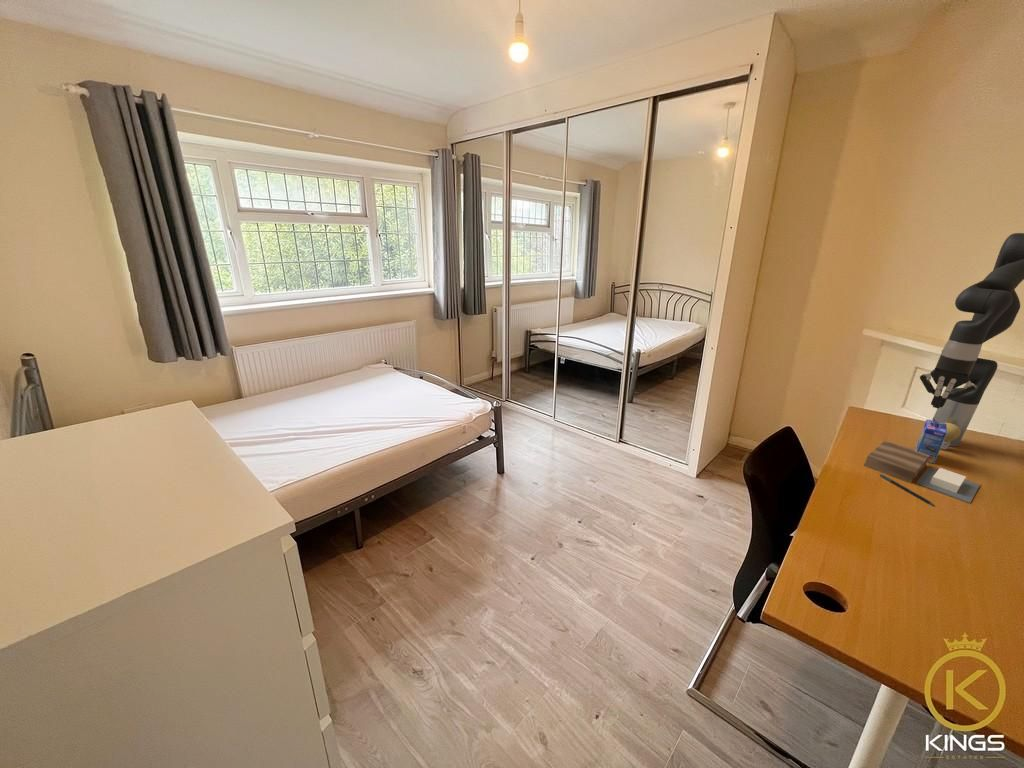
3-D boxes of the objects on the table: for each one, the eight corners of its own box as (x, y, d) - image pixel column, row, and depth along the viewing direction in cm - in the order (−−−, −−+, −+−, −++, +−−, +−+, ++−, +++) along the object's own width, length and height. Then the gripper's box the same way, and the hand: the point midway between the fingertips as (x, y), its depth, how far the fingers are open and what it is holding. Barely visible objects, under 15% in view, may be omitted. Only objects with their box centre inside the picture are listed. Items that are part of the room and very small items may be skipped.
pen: (932, 508, 117) (934, 504, 117) (878, 476, 132) (879, 473, 131) (935, 507, 117) (937, 504, 117) (881, 476, 132) (882, 473, 131)
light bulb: (924, 445, 150) (935, 421, 147) (932, 442, 153) (943, 418, 149) (947, 453, 145) (959, 429, 141) (955, 450, 148) (967, 425, 144)
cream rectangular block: (966, 476, 127) (962, 483, 128) (940, 467, 131) (936, 474, 132) (959, 486, 122) (956, 493, 123) (932, 476, 127) (929, 483, 127)
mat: (928, 467, 136) (928, 466, 136) (979, 485, 127) (980, 484, 127) (915, 483, 128) (915, 482, 128) (969, 503, 119) (970, 502, 119)
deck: (880, 450, 147) (884, 440, 145) (925, 465, 138) (929, 455, 136) (863, 465, 137) (867, 455, 136) (910, 482, 128) (915, 472, 126)
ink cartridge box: (913, 448, 149) (928, 412, 143) (934, 453, 145) (950, 417, 140) (912, 458, 142) (928, 421, 137) (934, 464, 138) (951, 427, 133)
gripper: (993, 359, 119) (967, 411, 125) (931, 348, 129) (911, 397, 135) (989, 364, 115) (963, 418, 121) (926, 352, 124) (905, 403, 131)
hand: (936, 407), depth 128 cm, fingers closed
